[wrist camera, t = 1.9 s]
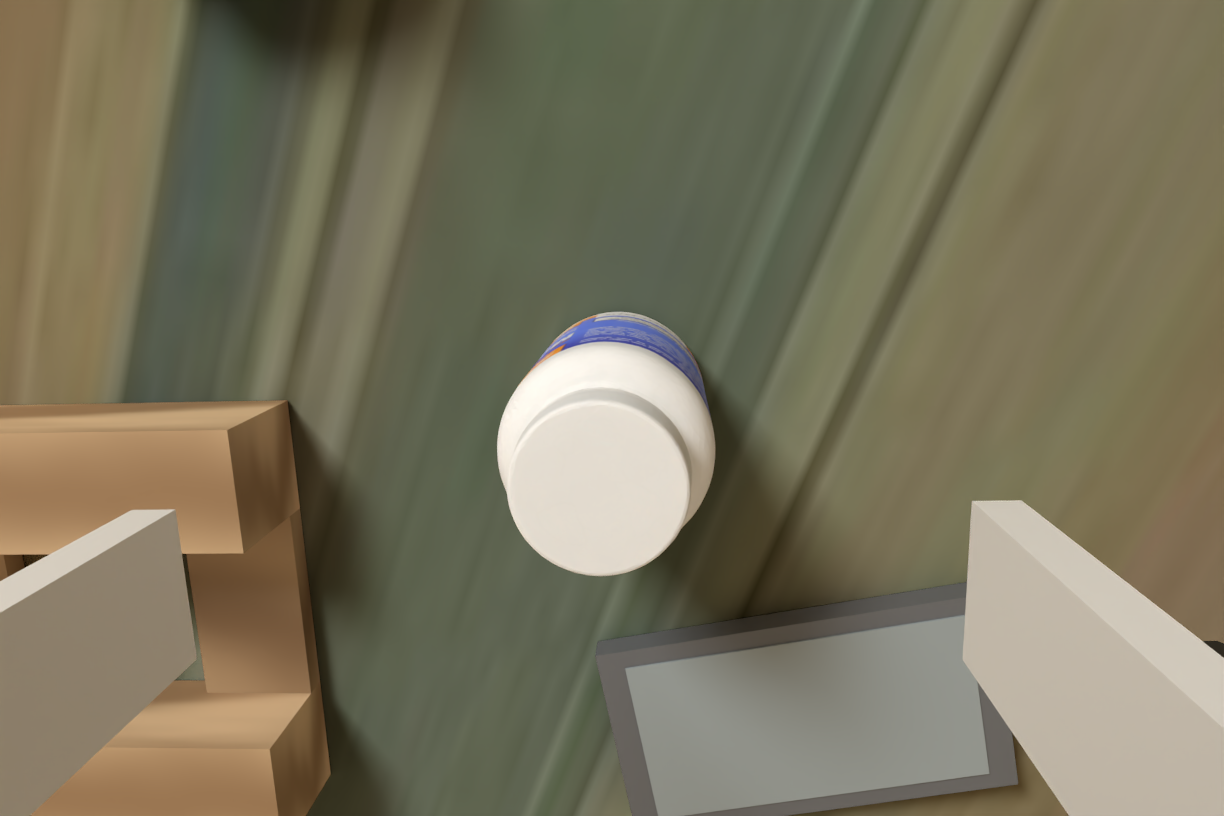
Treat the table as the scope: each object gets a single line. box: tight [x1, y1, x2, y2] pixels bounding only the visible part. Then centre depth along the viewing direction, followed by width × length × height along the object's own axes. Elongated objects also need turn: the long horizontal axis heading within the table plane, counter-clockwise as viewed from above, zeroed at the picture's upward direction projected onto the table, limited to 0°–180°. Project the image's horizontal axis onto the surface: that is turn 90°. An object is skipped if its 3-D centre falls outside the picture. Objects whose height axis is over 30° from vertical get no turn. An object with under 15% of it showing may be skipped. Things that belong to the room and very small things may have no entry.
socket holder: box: [0, 400, 331, 816], centre depth 29 cm, size 14×14×4 cm
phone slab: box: [595, 582, 1018, 816], centre depth 29 cm, size 7×13×1 cm, turn 102°
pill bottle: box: [497, 312, 715, 576], centre depth 23 cm, size 5×5×10 cm
